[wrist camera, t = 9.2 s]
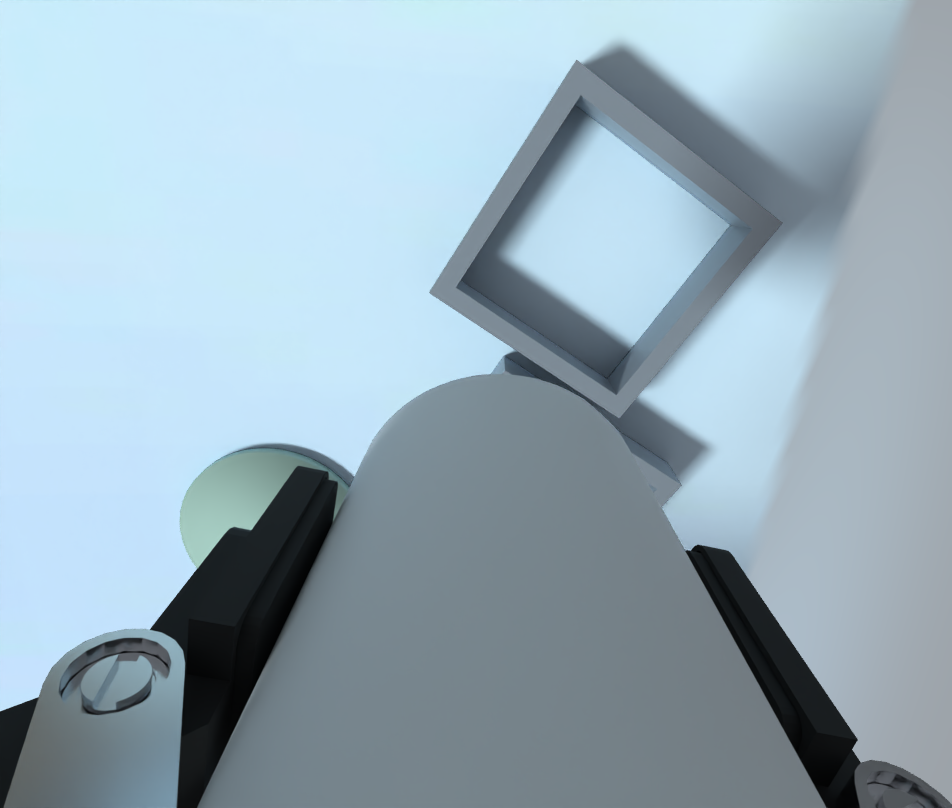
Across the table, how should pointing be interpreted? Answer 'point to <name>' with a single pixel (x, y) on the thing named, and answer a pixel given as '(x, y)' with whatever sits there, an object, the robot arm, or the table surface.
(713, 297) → the tray
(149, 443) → the table surface
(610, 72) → the table surface
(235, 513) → the coaster
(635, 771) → the beverage can
